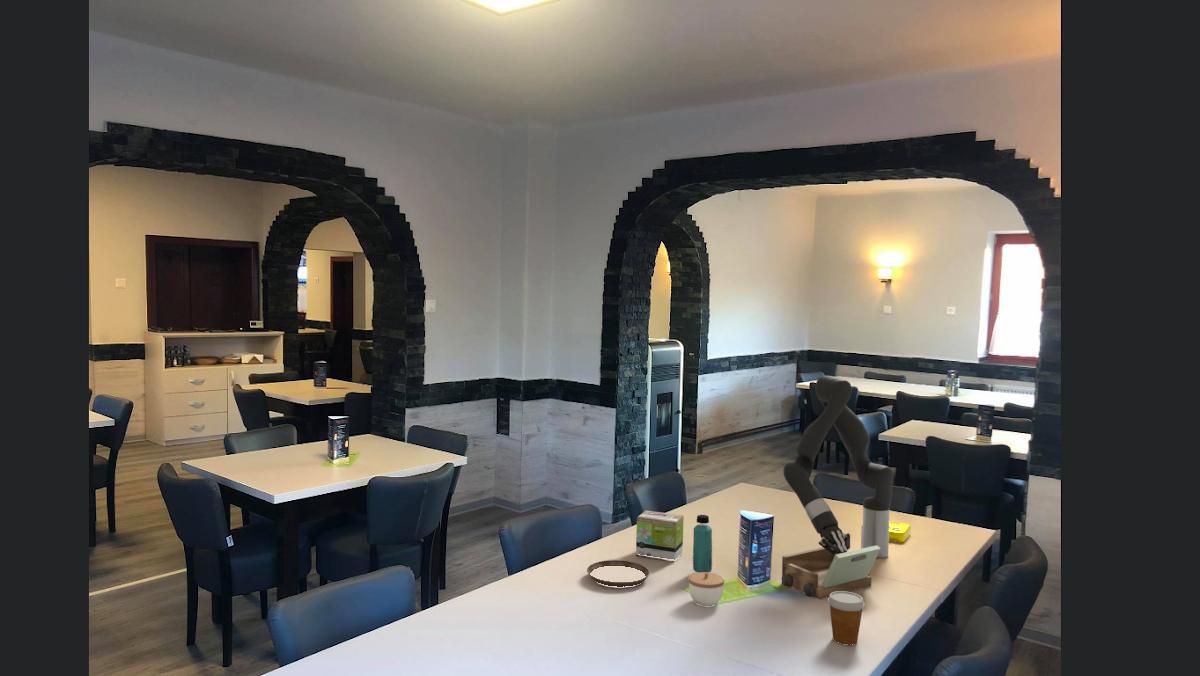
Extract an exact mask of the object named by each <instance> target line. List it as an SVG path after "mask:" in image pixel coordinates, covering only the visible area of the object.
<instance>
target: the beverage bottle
mask: <svg viewBox="0 0 1200 676" xmlns="http://www.w3.org/2000/svg"><path fill="white" fill-rule="evenodd" d="M696 523H698V524H697V525H695V526H694V527H693V547H692V550H693V551H692V569H693V571H694V573H698V572H709V573H712V568H713V528H712V527H711V526H710V525H709V524H710V519H709V516H708V515H706V514H698V515H697V516H696Z"/></svg>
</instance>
